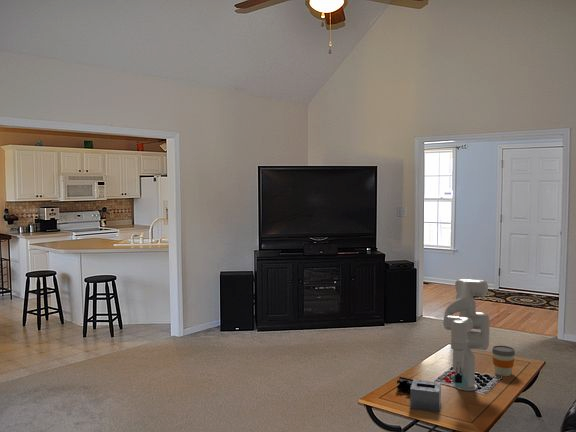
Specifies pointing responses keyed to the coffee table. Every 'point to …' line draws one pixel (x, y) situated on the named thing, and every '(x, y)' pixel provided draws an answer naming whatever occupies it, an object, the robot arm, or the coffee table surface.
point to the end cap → (404, 385)
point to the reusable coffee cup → (503, 360)
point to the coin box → (425, 395)
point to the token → (464, 381)
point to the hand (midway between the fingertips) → (458, 381)
